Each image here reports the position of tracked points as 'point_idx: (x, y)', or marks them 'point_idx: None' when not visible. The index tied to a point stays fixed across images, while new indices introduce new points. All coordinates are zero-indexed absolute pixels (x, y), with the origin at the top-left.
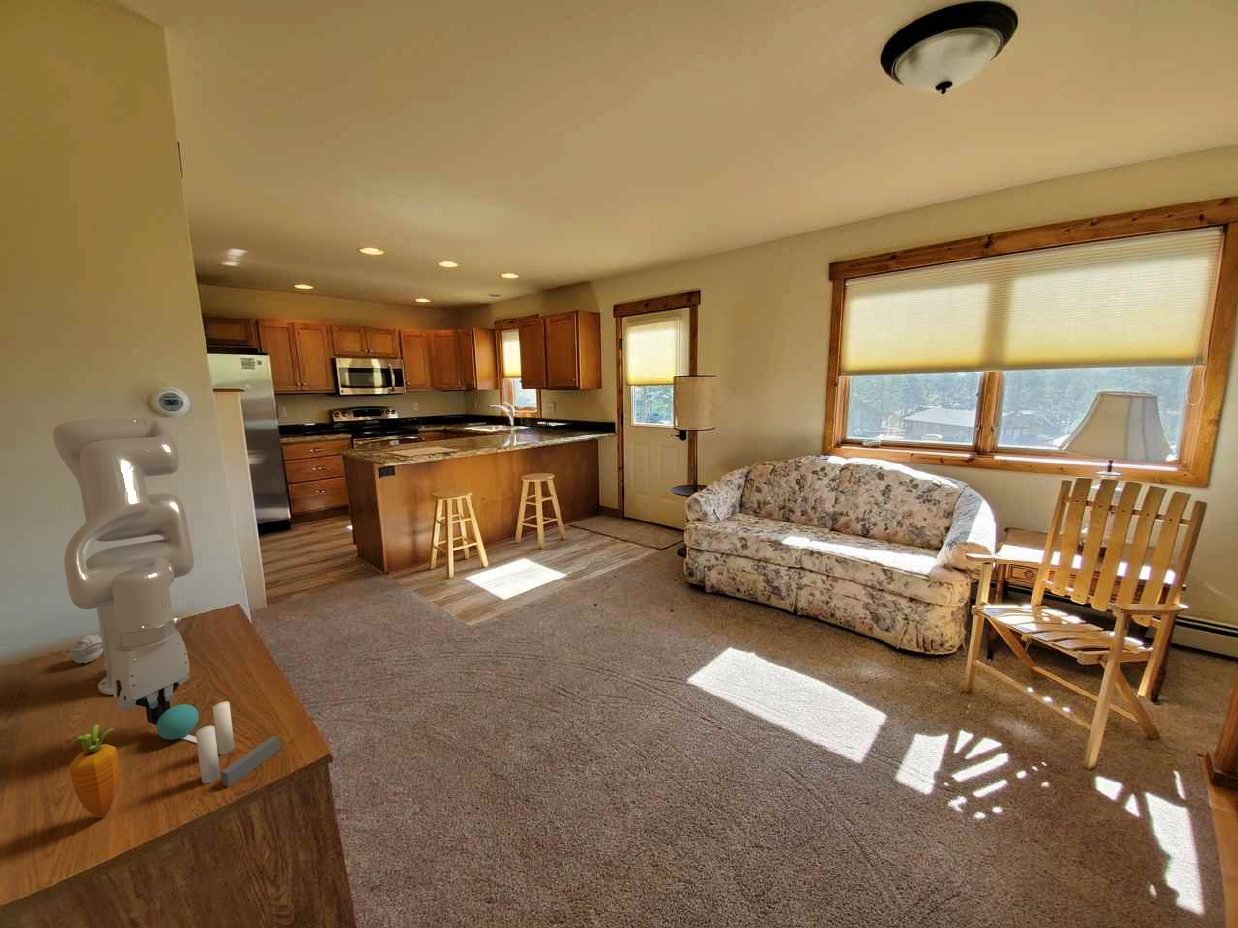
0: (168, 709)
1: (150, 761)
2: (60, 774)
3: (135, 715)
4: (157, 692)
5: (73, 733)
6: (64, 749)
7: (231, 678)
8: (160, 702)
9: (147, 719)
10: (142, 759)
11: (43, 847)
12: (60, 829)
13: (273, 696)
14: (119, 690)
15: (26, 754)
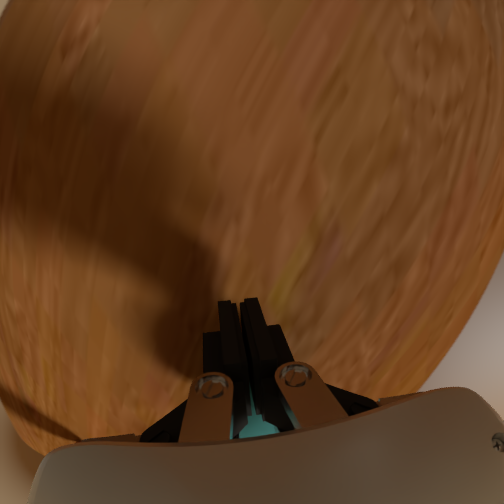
0: (250, 436)
1: (159, 400)
2: (9, 253)
3: (255, 67)
4: (288, 406)
5: (98, 5)
6: (39, 97)
7: (485, 179)
8: (262, 401)
9: (203, 337)
10: (149, 380)
11: (28, 422)
12: (37, 415)
13: (423, 370)
14: (64, 481)
15: (6, 38)
